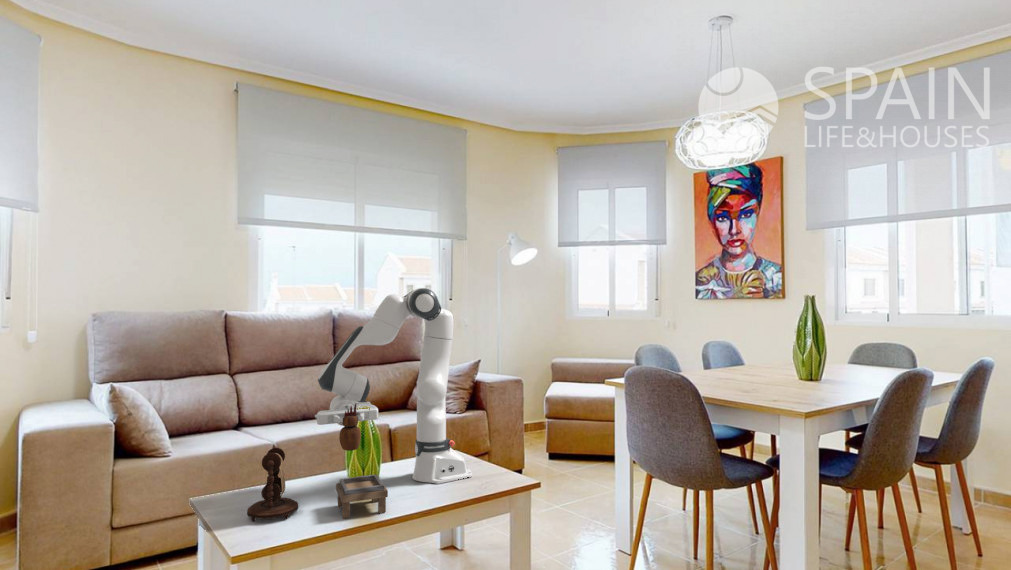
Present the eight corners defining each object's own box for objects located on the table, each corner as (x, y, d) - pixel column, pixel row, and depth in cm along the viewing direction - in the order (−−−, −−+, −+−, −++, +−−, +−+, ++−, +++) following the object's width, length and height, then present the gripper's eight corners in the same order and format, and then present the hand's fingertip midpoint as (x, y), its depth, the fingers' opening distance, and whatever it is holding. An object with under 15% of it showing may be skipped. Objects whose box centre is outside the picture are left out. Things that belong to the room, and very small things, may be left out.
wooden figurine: (363, 447, 192) (363, 402, 192) (357, 451, 186) (356, 405, 187) (343, 447, 193) (343, 402, 193) (337, 451, 187) (336, 405, 187)
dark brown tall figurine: (294, 521, 173) (294, 454, 174) (241, 525, 170) (242, 457, 171) (301, 505, 187) (301, 443, 188) (253, 508, 184) (253, 445, 185)
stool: (379, 499, 193) (379, 473, 193) (387, 513, 180) (387, 485, 180) (335, 505, 187) (336, 478, 187) (341, 519, 174) (341, 491, 175)
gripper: (314, 406, 198) (317, 412, 185) (374, 401, 206) (381, 407, 193) (314, 424, 198) (317, 432, 185) (374, 418, 205) (381, 426, 193)
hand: (350, 419), depth 189 cm, fingers closed on wooden figurine, 5 cm apart
